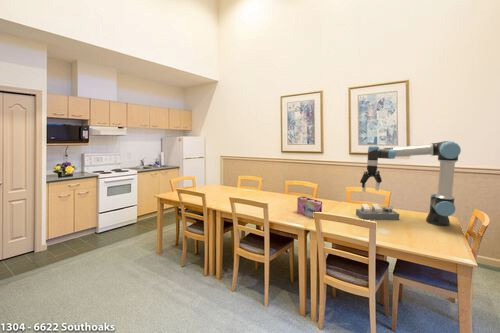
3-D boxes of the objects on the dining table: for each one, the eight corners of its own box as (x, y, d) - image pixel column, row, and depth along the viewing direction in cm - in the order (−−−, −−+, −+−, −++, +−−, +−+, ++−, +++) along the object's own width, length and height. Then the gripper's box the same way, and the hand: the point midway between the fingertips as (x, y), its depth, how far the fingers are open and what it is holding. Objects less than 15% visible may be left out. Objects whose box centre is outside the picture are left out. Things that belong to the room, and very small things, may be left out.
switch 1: (366, 205, 225) (367, 203, 224) (370, 212, 217) (371, 210, 216) (360, 205, 225) (361, 203, 224) (364, 212, 217) (365, 210, 216)
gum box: (323, 217, 218) (323, 202, 217) (316, 219, 214) (317, 203, 213) (303, 210, 238) (303, 196, 237) (296, 212, 234) (297, 197, 233)
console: (390, 214, 226) (391, 205, 225) (399, 219, 213) (399, 210, 212) (355, 214, 227) (356, 205, 226) (362, 219, 213) (362, 210, 212)
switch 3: (387, 209, 224) (387, 207, 224) (393, 209, 215) (392, 206, 216) (382, 209, 224) (381, 207, 224) (387, 208, 215) (386, 206, 216)
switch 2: (377, 205, 224) (377, 203, 223) (381, 212, 216) (382, 210, 215) (371, 205, 225) (371, 203, 224) (375, 212, 217) (376, 210, 216)
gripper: (380, 164, 217) (378, 189, 220) (356, 165, 209) (354, 190, 212) (387, 165, 210) (385, 190, 213) (363, 166, 202) (361, 193, 205)
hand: (370, 190), depth 212 cm, fingers open, 13 cm apart
